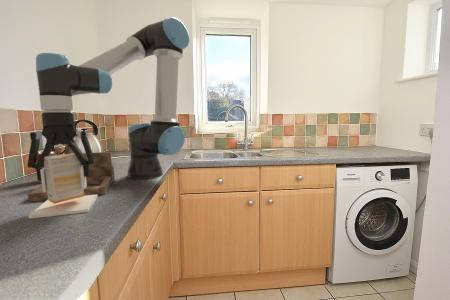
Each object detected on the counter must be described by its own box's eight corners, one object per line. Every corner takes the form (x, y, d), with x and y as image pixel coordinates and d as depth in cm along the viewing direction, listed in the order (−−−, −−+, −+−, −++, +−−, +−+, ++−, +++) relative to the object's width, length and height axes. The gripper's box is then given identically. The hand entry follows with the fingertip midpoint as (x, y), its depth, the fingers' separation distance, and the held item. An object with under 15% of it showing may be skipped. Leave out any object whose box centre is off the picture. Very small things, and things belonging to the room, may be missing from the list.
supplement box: (78, 193, 78) (74, 152, 76) (84, 196, 75) (80, 154, 73) (47, 200, 72) (42, 156, 70) (53, 204, 69) (48, 157, 67)
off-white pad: (97, 196, 82) (97, 194, 82) (88, 211, 69) (88, 209, 69) (48, 201, 78) (48, 199, 78) (28, 218, 65) (28, 215, 65)
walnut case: (115, 180, 104) (112, 151, 103) (107, 194, 85) (105, 159, 83) (52, 185, 97) (48, 154, 96) (29, 201, 78) (24, 164, 77)
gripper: (102, 111, 77) (108, 182, 80) (17, 112, 70) (27, 189, 73) (98, 111, 70) (104, 188, 73) (3, 111, 63) (14, 196, 66)
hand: (65, 189), depth 73 cm, fingers closed on supplement box, 9 cm apart
